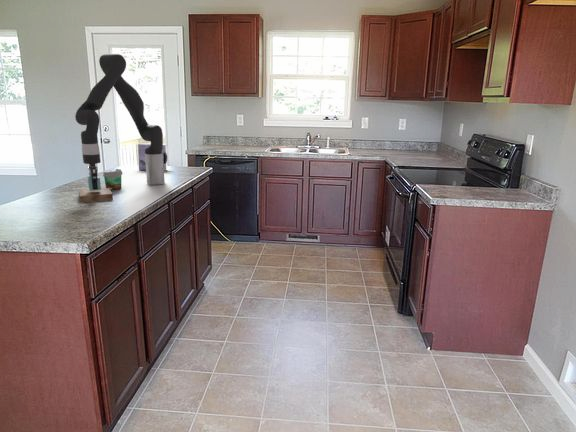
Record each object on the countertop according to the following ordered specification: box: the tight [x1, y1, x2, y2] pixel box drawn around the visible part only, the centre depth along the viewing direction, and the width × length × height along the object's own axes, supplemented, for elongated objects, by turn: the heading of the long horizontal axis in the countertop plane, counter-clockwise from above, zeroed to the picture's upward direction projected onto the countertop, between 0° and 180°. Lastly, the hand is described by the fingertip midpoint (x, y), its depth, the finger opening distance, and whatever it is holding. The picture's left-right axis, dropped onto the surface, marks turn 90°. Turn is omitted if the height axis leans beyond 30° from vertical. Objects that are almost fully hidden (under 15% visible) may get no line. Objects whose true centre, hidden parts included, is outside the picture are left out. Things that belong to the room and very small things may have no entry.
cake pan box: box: [137, 143, 168, 171], centre depth 286 cm, size 19×5×18 cm, turn 84°
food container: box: [102, 168, 124, 192], centre depth 224 cm, size 12×6×10 cm, turn 168°
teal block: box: [87, 175, 102, 191], centre depth 203 cm, size 5×5×6 cm
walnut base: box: [78, 188, 114, 203], centre depth 204 cm, size 14×14×3 cm
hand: (94, 188), depth 203 cm, fingers closed on teal block, 5 cm apart
